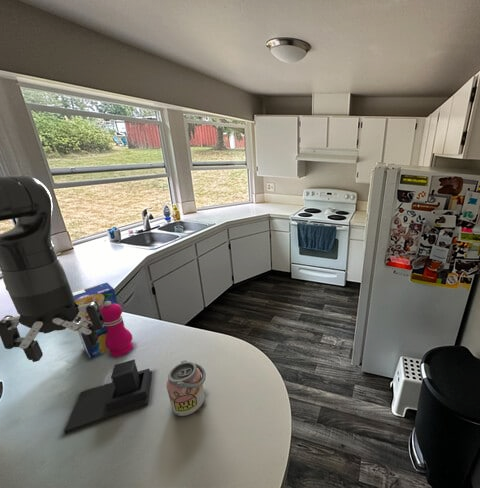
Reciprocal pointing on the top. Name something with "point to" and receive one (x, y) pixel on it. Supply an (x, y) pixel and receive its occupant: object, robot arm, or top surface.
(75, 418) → the base pad
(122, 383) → the black tall rectangular block
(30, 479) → the top surface
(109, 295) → the beverage box
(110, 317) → the pepper mill
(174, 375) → the beverage can
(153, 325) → the top surface
